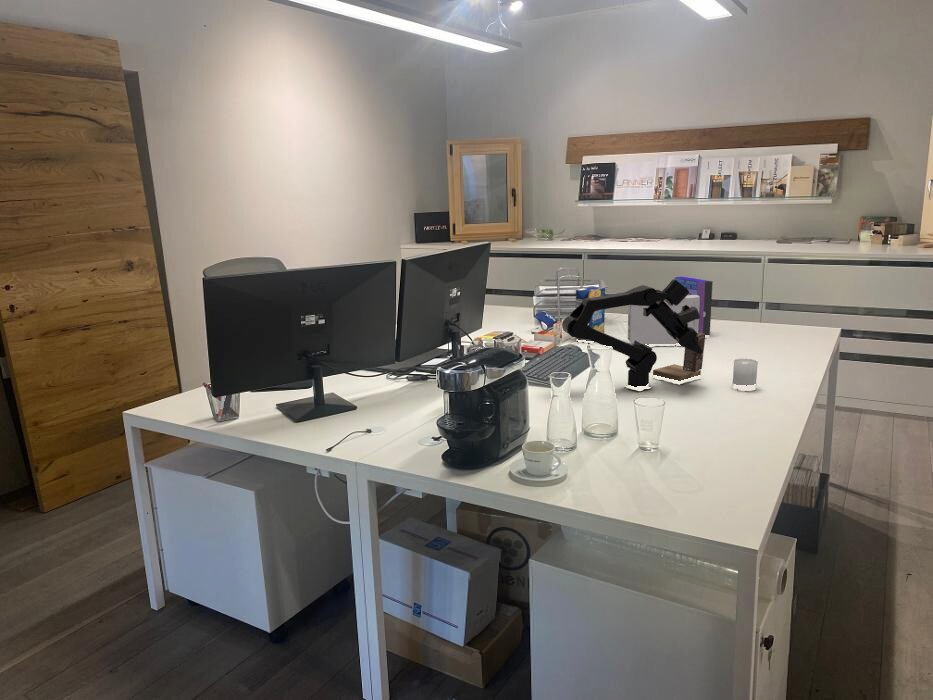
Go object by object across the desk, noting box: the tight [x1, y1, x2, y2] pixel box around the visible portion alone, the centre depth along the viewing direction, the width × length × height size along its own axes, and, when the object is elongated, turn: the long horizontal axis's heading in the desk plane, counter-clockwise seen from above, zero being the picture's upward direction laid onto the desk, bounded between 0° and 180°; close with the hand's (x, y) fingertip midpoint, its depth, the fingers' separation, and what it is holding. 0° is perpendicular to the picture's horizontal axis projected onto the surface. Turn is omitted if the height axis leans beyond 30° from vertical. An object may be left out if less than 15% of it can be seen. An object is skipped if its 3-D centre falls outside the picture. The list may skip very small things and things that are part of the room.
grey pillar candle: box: [732, 358, 759, 386], centre depth 225 cm, size 7×7×9 cm
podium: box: [652, 363, 702, 381], centre depth 239 cm, size 11×11×3 cm
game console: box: [627, 295, 700, 345], centre depth 283 cm, size 6×27×20 cm, turn 89°
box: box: [682, 332, 706, 372], centre depth 228 cm, size 6×4×12 cm
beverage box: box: [575, 286, 606, 341], centre depth 295 cm, size 7×11×22 cm, turn 135°
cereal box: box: [673, 276, 713, 336], centre depth 300 cm, size 17×5×24 cm, turn 25°
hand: (698, 350), depth 227 cm, fingers closed on box, 7 cm apart
